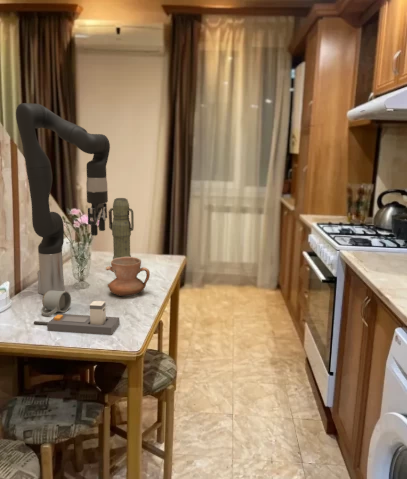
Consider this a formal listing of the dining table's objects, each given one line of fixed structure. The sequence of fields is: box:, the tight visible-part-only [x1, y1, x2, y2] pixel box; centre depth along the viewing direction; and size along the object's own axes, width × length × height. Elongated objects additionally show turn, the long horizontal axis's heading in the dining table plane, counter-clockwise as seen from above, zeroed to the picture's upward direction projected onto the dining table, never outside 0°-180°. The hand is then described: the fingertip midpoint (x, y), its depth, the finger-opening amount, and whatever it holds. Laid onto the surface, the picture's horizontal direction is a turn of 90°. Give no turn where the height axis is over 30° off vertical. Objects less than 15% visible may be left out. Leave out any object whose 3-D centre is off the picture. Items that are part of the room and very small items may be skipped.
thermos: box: [108, 197, 135, 260], centre depth 221 cm, size 9×12×35 cm
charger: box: [89, 300, 107, 325], centre depth 156 cm, size 4×4×9 cm
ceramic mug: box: [40, 290, 72, 317], centre depth 170 cm, size 11×8×8 cm
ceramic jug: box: [105, 256, 151, 297], centre depth 191 cm, size 18×14×14 cm
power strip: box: [33, 313, 121, 336], centre depth 158 cm, size 29×9×3 cm, turn 83°
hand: (98, 233), depth 174 cm, fingers open, 8 cm apart
